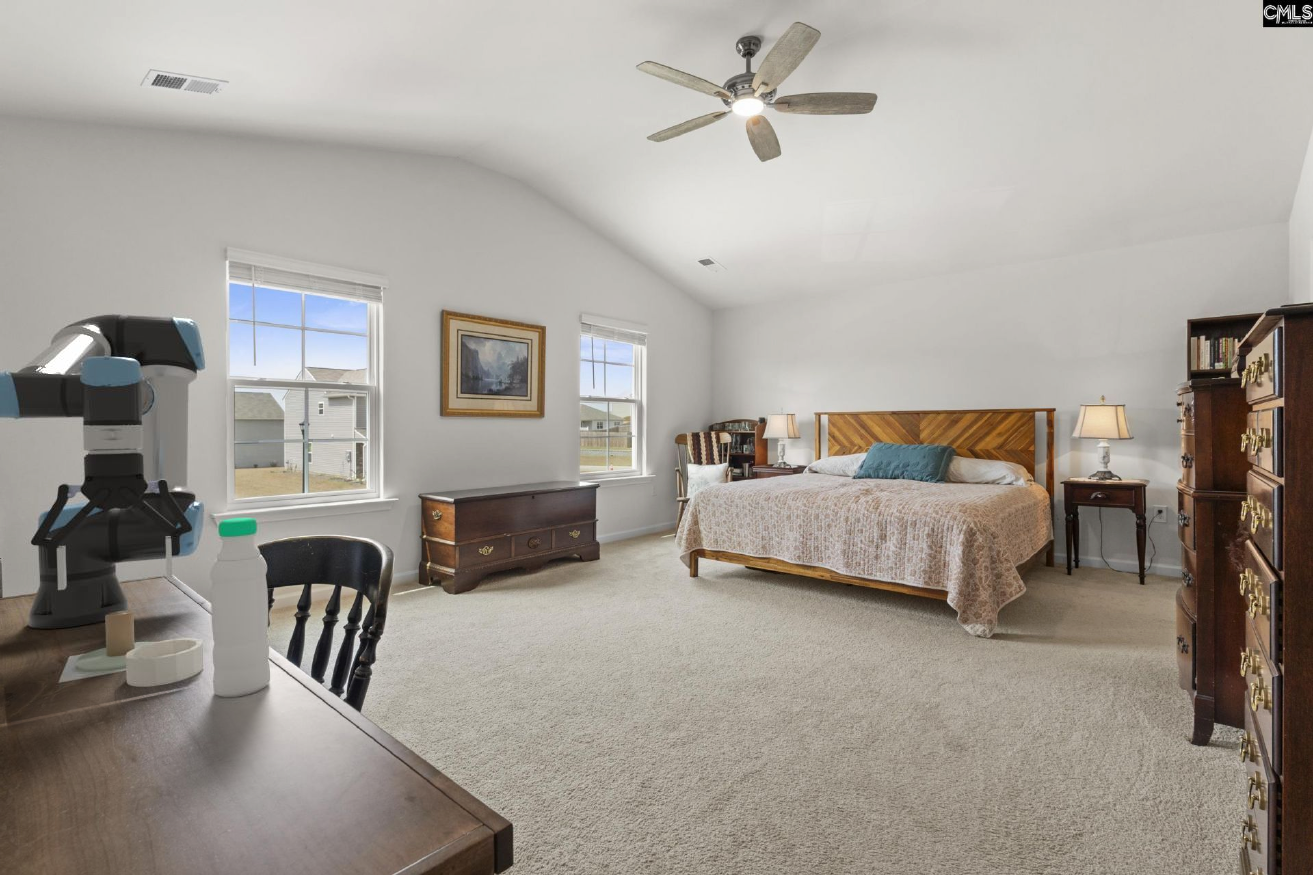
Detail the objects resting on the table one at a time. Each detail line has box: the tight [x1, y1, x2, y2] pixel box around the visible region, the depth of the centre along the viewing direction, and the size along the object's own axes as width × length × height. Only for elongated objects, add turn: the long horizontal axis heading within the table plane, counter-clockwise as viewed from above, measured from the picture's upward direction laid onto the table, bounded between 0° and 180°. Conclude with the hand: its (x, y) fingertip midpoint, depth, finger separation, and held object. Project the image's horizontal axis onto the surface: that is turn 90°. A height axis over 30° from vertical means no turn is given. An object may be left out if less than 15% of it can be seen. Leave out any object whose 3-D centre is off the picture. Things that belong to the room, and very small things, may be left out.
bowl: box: [125, 637, 204, 688], centre depth 102 cm, size 9×9×4 cm
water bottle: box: [209, 517, 271, 698], centre depth 97 cm, size 7×7×25 cm
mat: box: [58, 652, 126, 684], centre depth 109 cm, size 14×14×1 cm
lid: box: [76, 610, 155, 671], centre depth 109 cm, size 11×11×8 cm
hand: (117, 581), depth 108 cm, fingers open, 13 cm apart
